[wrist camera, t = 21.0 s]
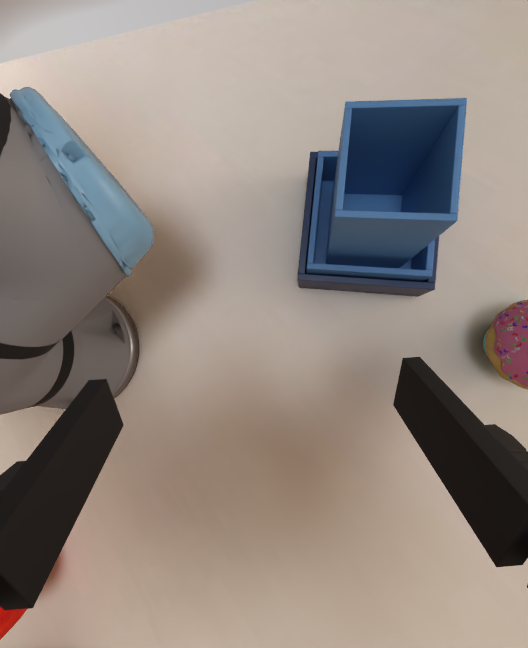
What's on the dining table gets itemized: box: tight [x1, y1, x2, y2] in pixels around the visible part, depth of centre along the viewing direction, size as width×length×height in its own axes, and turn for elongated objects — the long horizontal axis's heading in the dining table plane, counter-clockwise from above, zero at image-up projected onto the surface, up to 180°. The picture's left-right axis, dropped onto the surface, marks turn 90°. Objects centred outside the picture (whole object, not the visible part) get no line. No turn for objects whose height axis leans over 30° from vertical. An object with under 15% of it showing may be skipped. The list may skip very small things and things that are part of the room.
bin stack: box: [298, 151, 439, 296], centre depth 31 cm, size 14×14×6 cm
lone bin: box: [326, 98, 467, 268], centre depth 27 cm, size 8×8×13 cm
